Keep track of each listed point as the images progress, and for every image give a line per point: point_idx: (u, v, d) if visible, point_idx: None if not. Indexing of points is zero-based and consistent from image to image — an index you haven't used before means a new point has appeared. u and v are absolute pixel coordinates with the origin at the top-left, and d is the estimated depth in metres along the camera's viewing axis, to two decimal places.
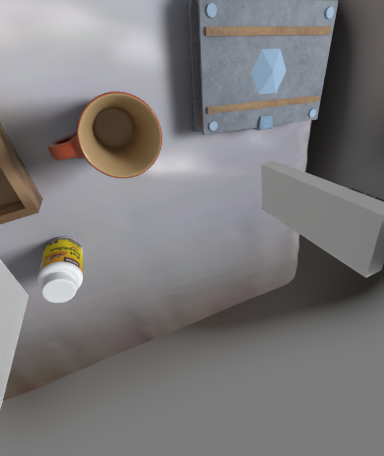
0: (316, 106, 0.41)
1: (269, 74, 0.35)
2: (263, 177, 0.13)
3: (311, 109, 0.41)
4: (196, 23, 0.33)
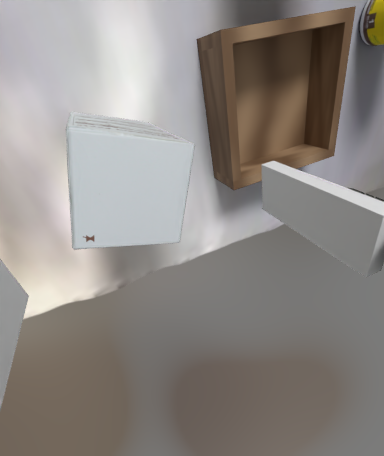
0: None
1: None
2: (263, 177, 0.13)
3: None
4: None
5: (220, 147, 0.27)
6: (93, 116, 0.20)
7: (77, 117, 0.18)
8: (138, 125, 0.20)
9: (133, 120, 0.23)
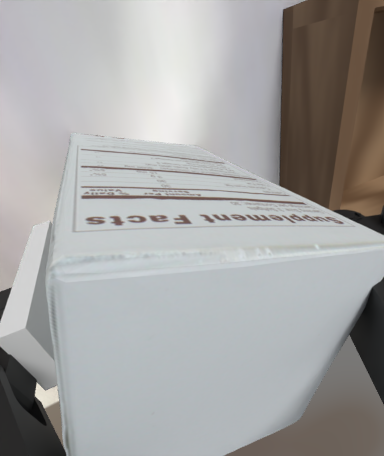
0: None
1: None
2: None
3: None
4: None
5: (304, 183, 0.17)
6: (113, 145, 0.11)
7: (84, 157, 0.08)
8: (202, 164, 0.10)
9: (177, 146, 0.14)
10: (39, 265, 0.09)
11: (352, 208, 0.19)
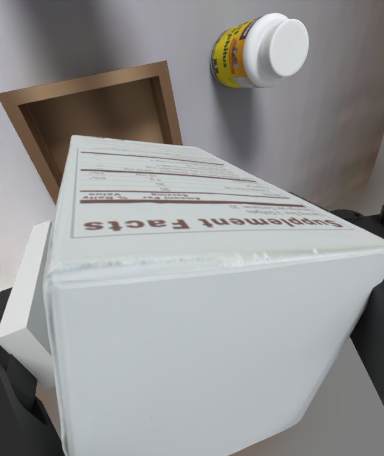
0: None
1: None
2: None
3: None
4: None
5: None
6: (113, 147, 0.11)
7: (84, 160, 0.08)
8: (202, 167, 0.10)
9: (177, 147, 0.14)
10: (40, 265, 0.09)
11: None
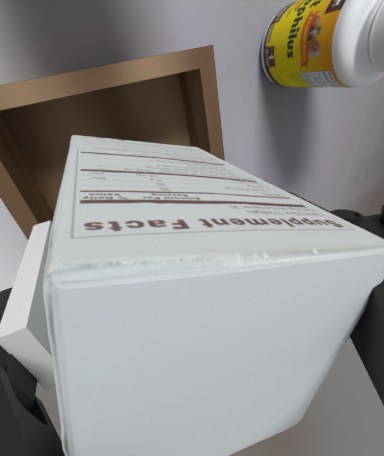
0: None
1: None
2: None
3: None
4: None
5: None
6: (113, 147, 0.11)
7: (84, 160, 0.08)
8: (202, 167, 0.10)
9: (177, 147, 0.14)
10: (40, 265, 0.09)
11: None
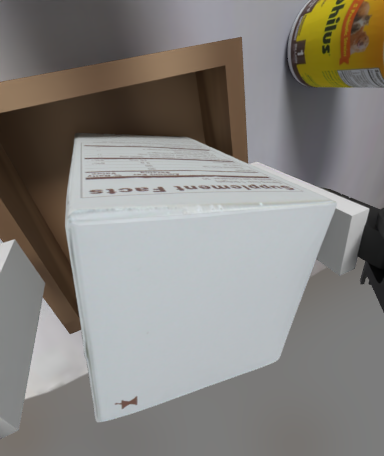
0: None
1: None
2: None
3: None
4: None
5: None
6: (111, 141, 0.12)
7: (87, 151, 0.10)
8: (188, 152, 0.12)
9: (169, 138, 0.15)
10: None
11: None
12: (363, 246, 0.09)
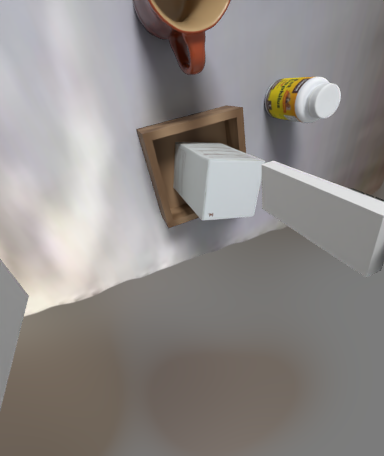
0: None
1: None
2: (263, 177, 0.13)
3: None
4: None
5: (158, 198, 0.38)
6: (194, 145, 0.34)
7: (193, 148, 0.31)
8: (223, 149, 0.33)
9: (213, 143, 0.37)
10: None
11: (189, 209, 0.40)
12: None
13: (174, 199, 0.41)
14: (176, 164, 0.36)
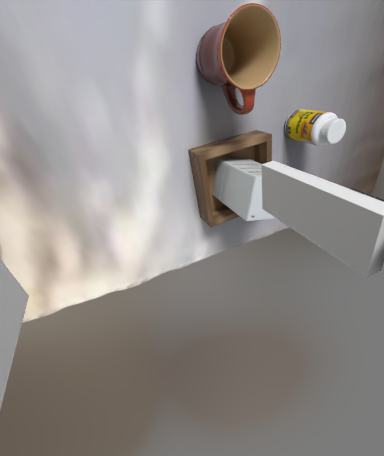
0: None
1: None
2: (263, 177, 0.13)
3: None
4: None
5: (202, 203, 0.47)
6: (234, 162, 0.44)
7: (236, 166, 0.41)
8: (257, 166, 0.43)
9: (245, 160, 0.47)
10: None
11: (225, 212, 0.50)
12: None
13: (211, 204, 0.51)
14: (218, 177, 0.46)
